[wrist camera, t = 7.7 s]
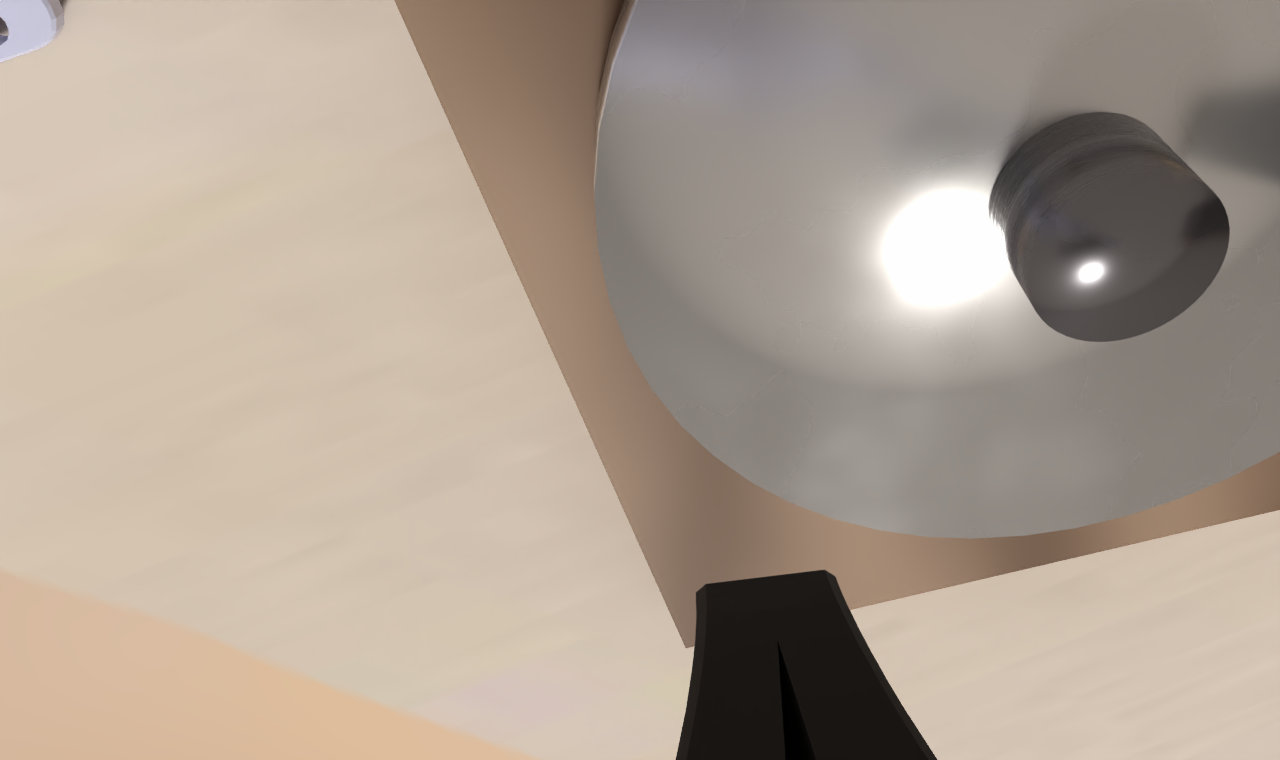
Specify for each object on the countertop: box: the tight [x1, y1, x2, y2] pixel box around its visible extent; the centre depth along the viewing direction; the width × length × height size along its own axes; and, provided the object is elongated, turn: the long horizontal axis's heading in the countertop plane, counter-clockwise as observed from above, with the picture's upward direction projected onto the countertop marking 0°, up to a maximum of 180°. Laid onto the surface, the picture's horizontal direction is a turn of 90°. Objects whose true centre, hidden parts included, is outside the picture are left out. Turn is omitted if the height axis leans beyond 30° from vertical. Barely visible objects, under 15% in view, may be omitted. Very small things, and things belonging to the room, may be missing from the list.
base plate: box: [395, 0, 1280, 648], centre depth 16 cm, size 17×19×4 cm
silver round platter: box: [594, 0, 1280, 539], centre depth 15 cm, size 15×14×4 cm
